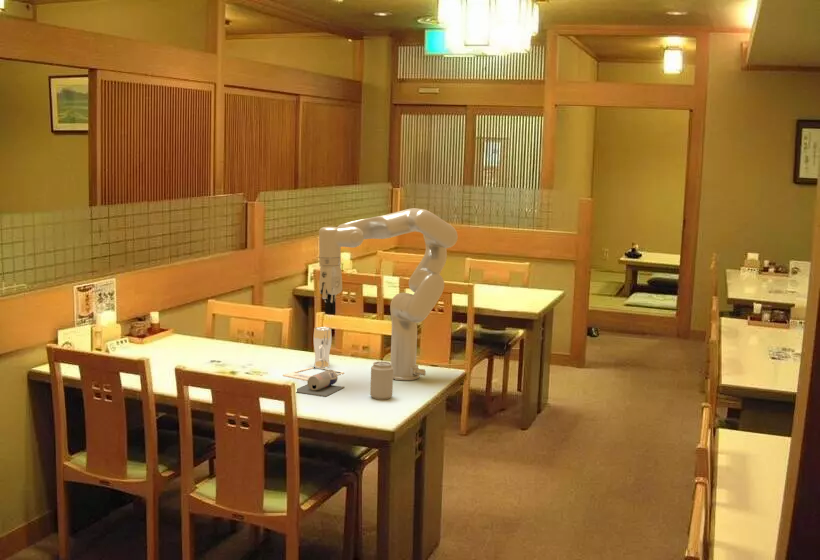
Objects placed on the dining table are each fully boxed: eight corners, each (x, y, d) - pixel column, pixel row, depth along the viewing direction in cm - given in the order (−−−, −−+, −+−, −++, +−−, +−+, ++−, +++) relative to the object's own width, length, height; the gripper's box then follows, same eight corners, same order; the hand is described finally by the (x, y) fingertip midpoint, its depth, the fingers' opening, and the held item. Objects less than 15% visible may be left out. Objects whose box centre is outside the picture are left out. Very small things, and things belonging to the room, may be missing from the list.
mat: (344, 388, 321) (344, 386, 321) (325, 396, 308) (325, 395, 308) (311, 383, 325) (311, 382, 325) (292, 392, 313) (292, 390, 312)
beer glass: (332, 364, 356) (333, 327, 354) (329, 368, 349) (330, 330, 347) (314, 363, 357) (315, 326, 355) (311, 367, 350) (312, 329, 348)
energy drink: (325, 384, 325) (307, 391, 314) (324, 369, 325) (306, 375, 314) (338, 384, 323) (320, 391, 312) (337, 369, 322) (319, 375, 312)
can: (374, 400, 305) (376, 365, 303) (367, 395, 312) (368, 361, 310) (395, 399, 308) (396, 364, 306) (387, 393, 315) (388, 359, 313)
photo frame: (282, 374, 335) (314, 366, 350) (282, 377, 335) (314, 368, 350) (313, 380, 327) (344, 372, 342) (313, 383, 327) (344, 374, 342)
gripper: (330, 265, 312) (331, 317, 315) (348, 260, 326) (348, 310, 329) (311, 263, 315) (311, 316, 318) (329, 259, 329) (329, 309, 331)
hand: (330, 313), depth 323 cm, fingers closed
